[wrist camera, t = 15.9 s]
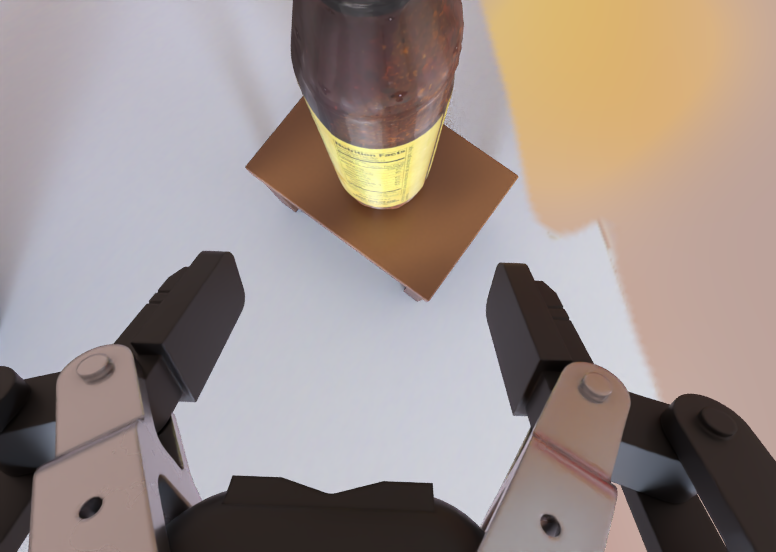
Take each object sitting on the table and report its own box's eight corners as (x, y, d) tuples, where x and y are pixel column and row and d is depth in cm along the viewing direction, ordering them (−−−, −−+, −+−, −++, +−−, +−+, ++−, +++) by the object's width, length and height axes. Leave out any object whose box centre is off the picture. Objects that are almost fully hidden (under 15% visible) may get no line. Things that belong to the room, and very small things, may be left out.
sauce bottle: (367, 115, 25) (292, -657, 5) (443, 156, 25) (678, -494, 5) (320, 191, 24) (25, -349, 4) (397, 235, 24) (448, -138, 4)
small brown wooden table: (279, 203, 32) (244, 167, 24) (350, 113, 33) (338, 51, 25) (417, 304, 31) (428, 301, 23) (486, 209, 32) (519, 176, 24)
